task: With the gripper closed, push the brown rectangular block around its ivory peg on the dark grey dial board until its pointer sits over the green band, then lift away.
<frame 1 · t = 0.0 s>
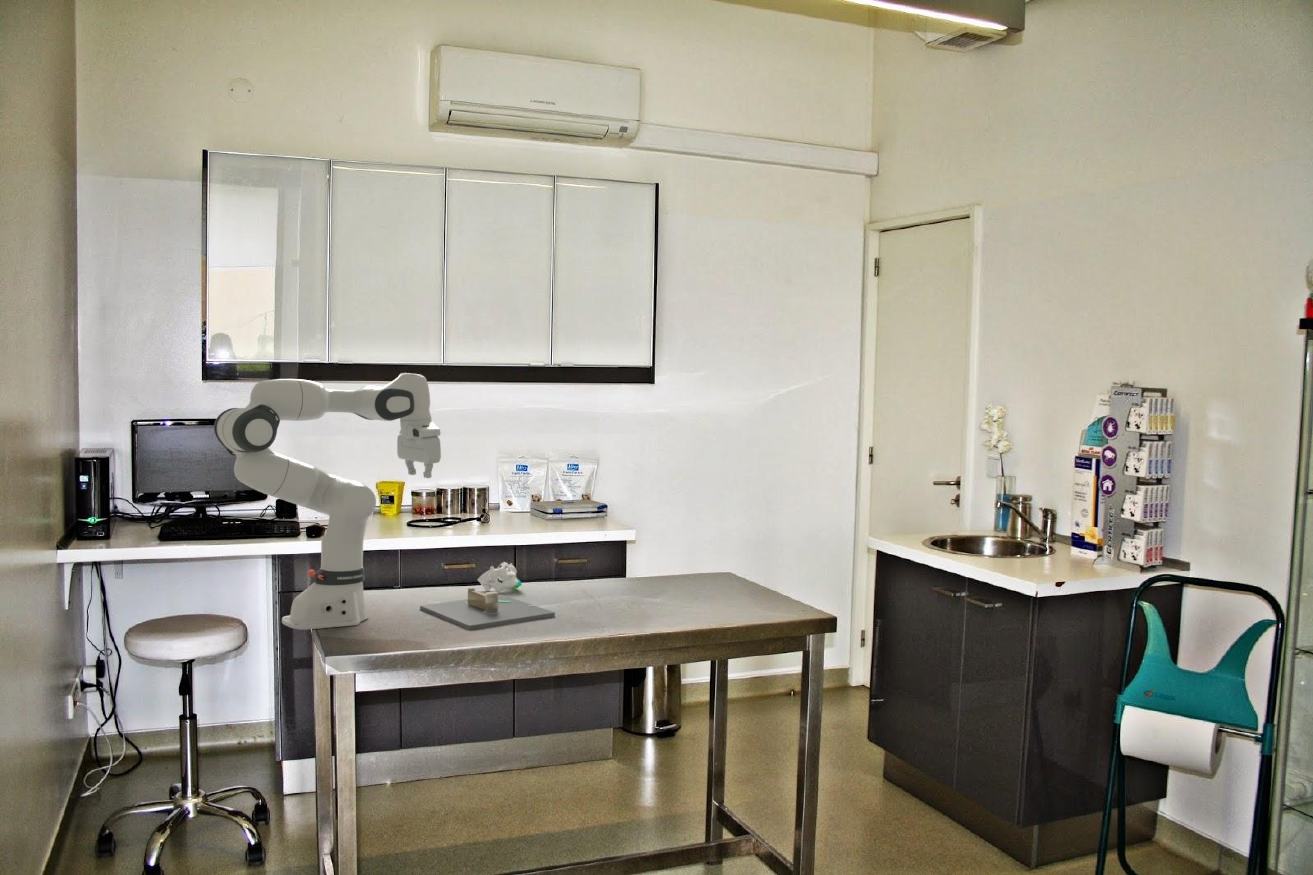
hand: (419, 476, 290), 39 cm above the table, tool pointing down, fingers open, 8 cm apart
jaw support: (504, 591, 321), on the table
dial board: (487, 613, 289), on the table
brown rectangular block: (482, 598, 289), point 4 cm above the table, hinge at 0.0°
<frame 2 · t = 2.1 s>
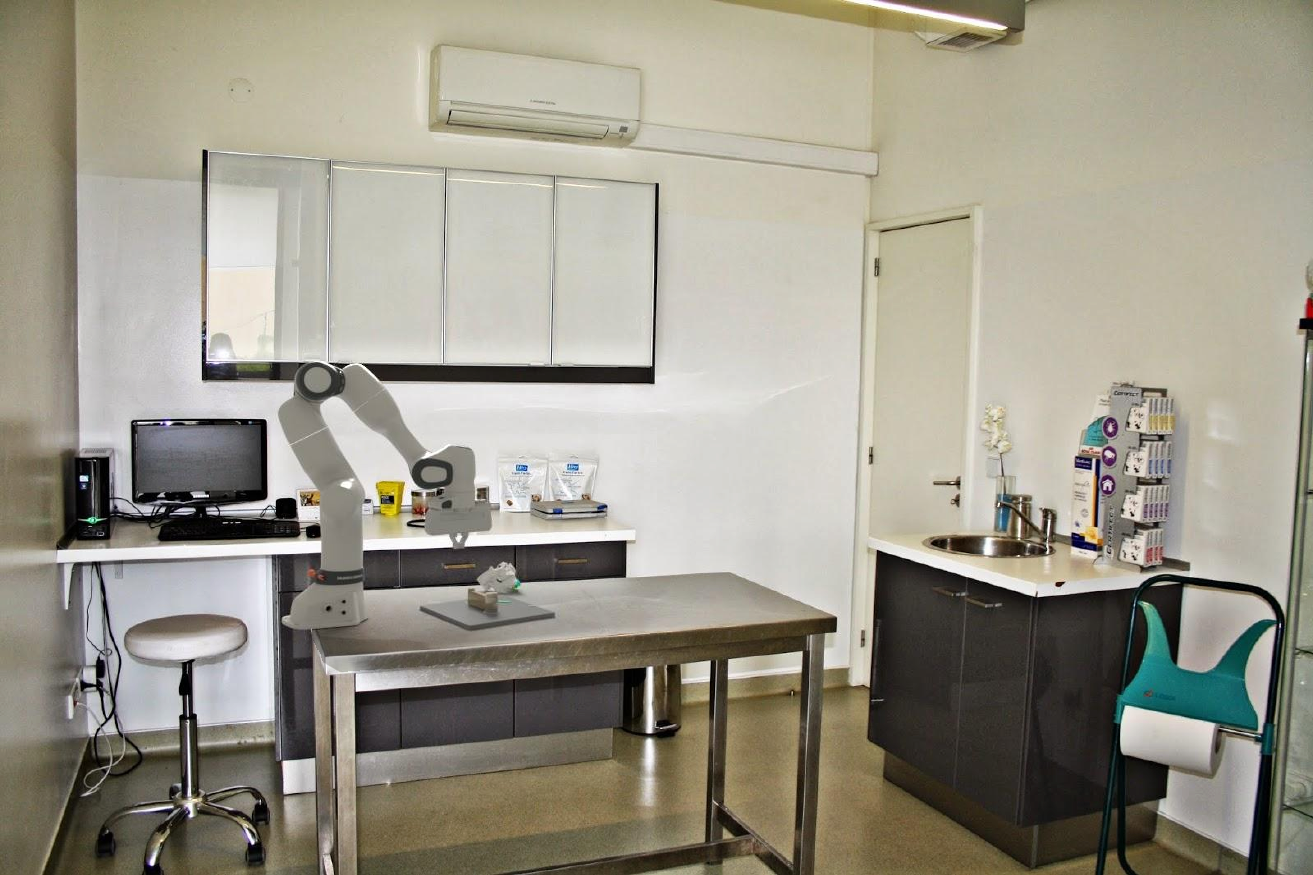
hand: (458, 548, 287), 19 cm above the table, tool pointing down, fingers closed
nothing on the table moved.
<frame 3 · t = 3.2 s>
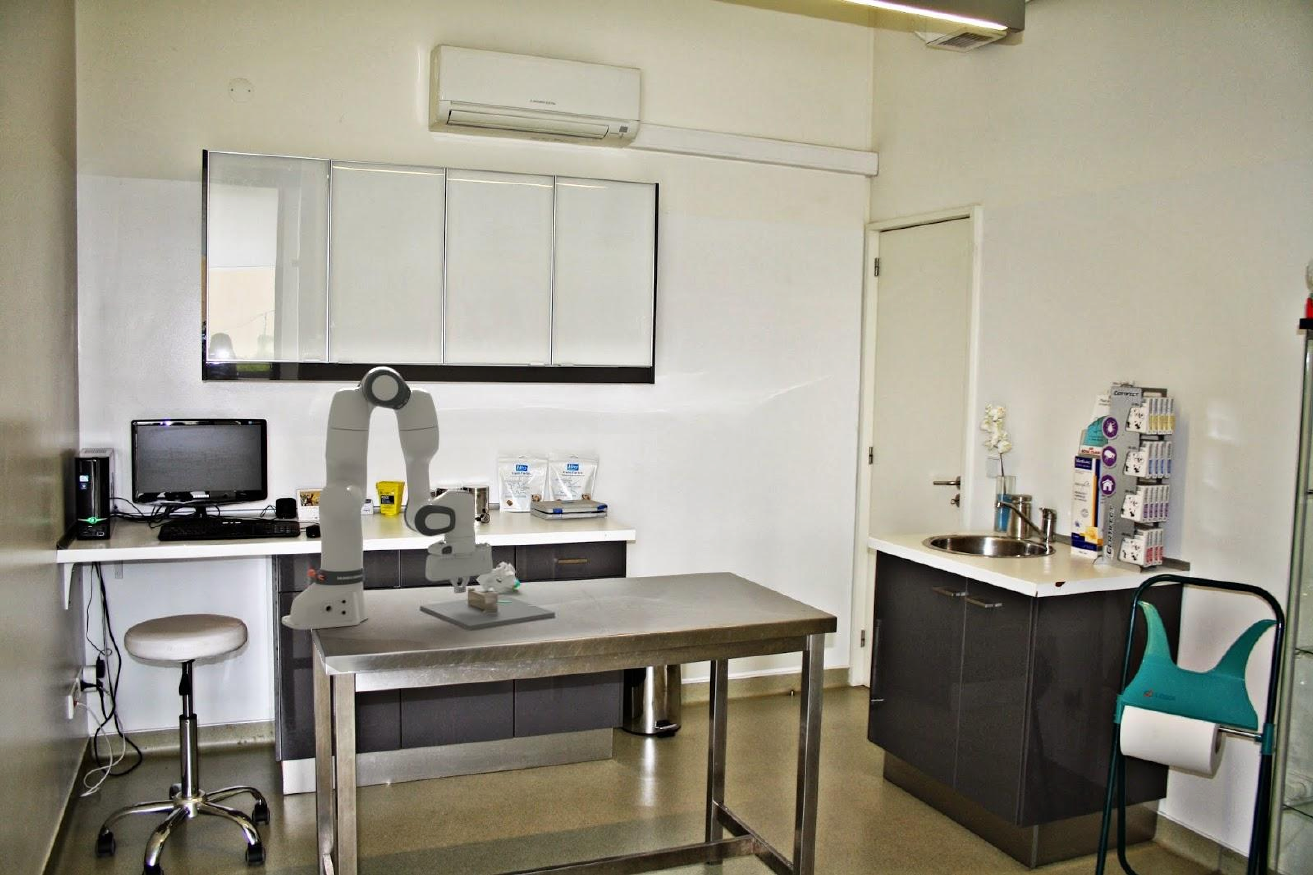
hand: (460, 592, 288), 6 cm above the table, tool pointing down, fingers closed
nothing on the table moved.
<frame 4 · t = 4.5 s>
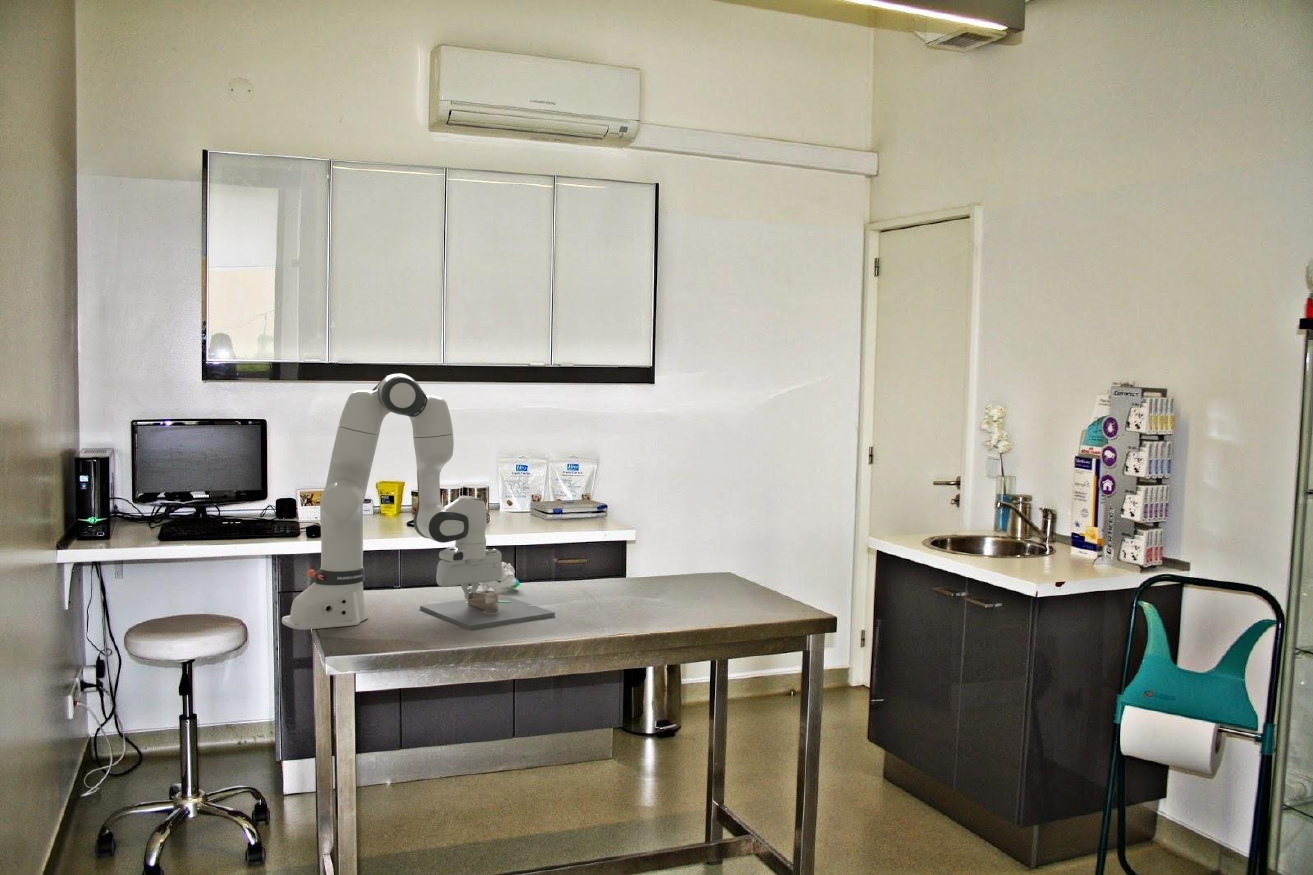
hand: (469, 598, 291), 4 cm above the table, tool pointing down, fingers closed
brown rectangular block: (482, 598, 289), point 4 cm above the table, hinge at -0.2°, touching gripper
everything else where it was.
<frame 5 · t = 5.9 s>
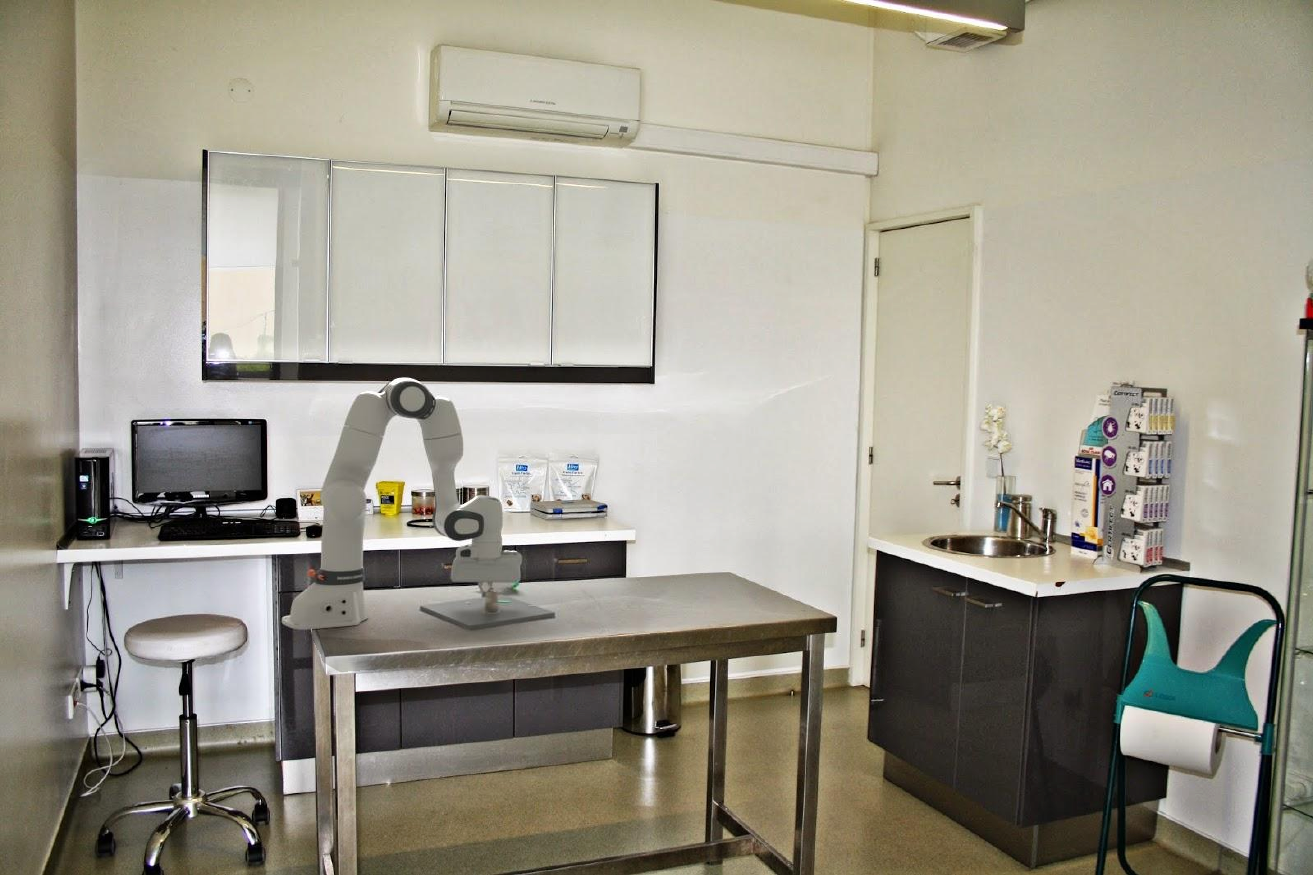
hand: (485, 597, 294), 4 cm above the table, tool pointing down, fingers closed
brown rectangular block: (491, 598, 290), point 4 cm above the table, hinge at -31.0°, touching gripper
everything else where it was.
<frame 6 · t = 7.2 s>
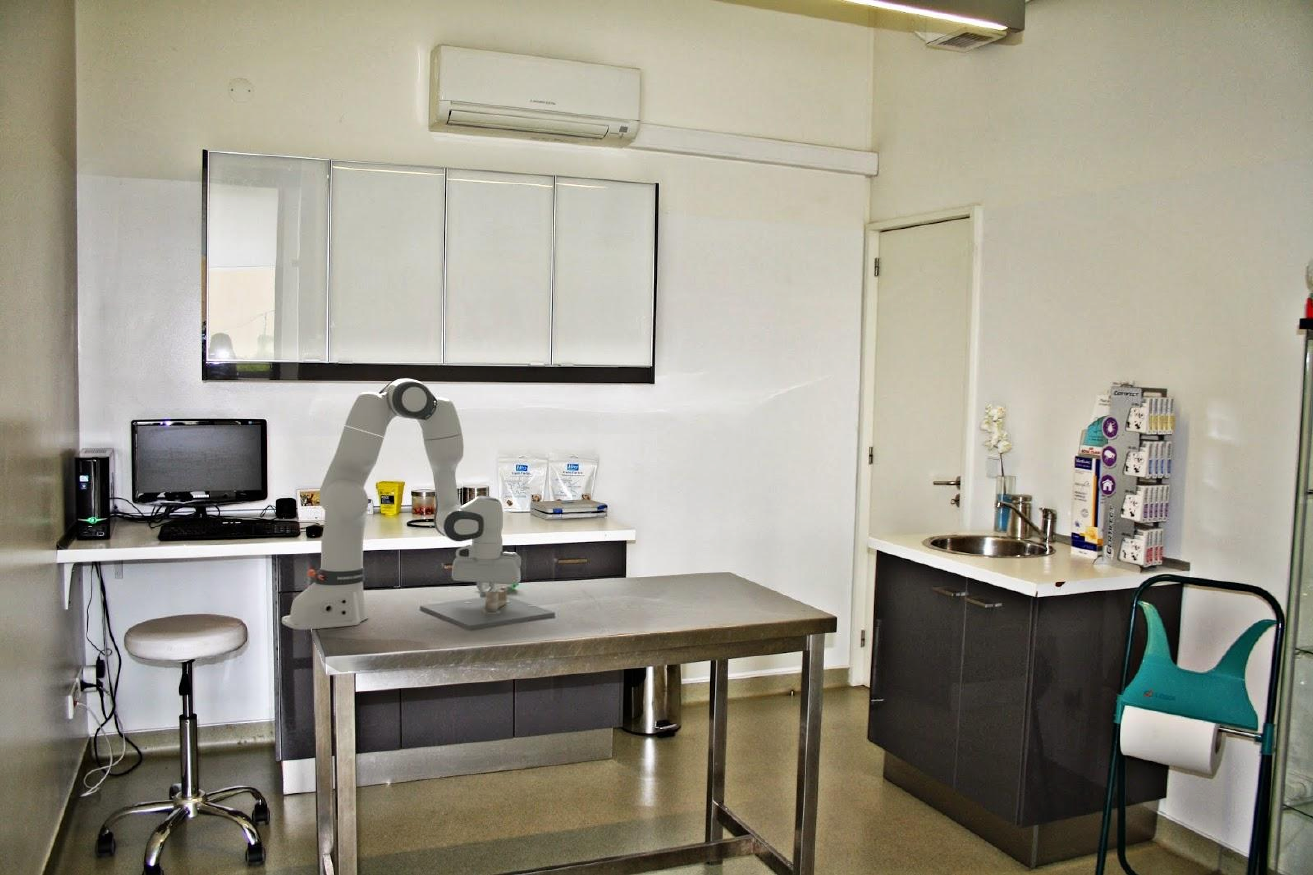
hand: (485, 597, 294), 3 cm above the table, tool pointing down, fingers closed
brown rectangular block: (497, 598, 290), point 4 cm above the table, hinge at -49.1°
everything else where it was.
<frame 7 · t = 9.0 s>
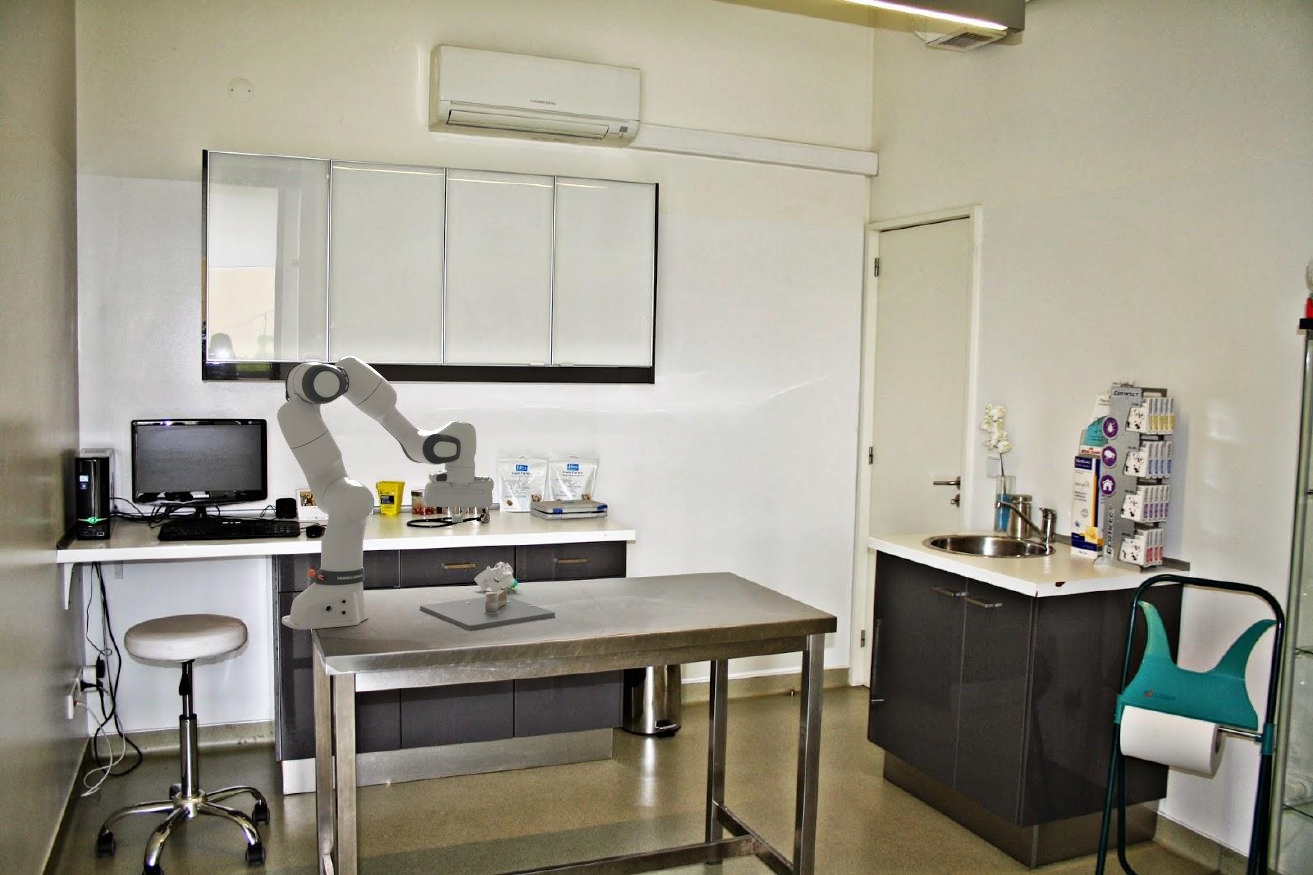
hand: (457, 522, 296), 25 cm above the table, tool pointing down, fingers closed
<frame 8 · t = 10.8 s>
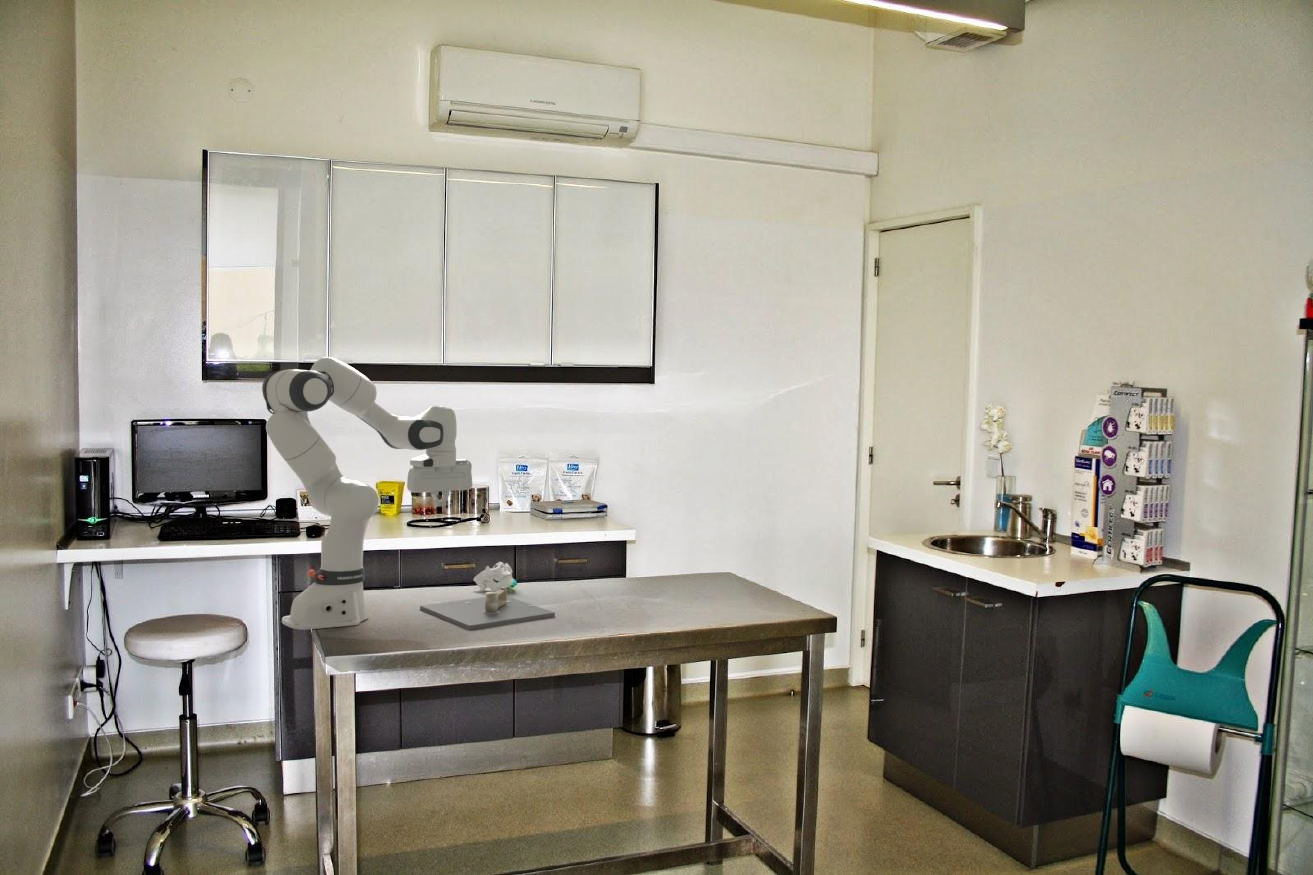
hand: (440, 506, 299), 29 cm above the table, tool pointing down, fingers closed
at the end: brown rectangular block at -49° (first picture: +0°); brown rectangular block touching nothing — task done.
